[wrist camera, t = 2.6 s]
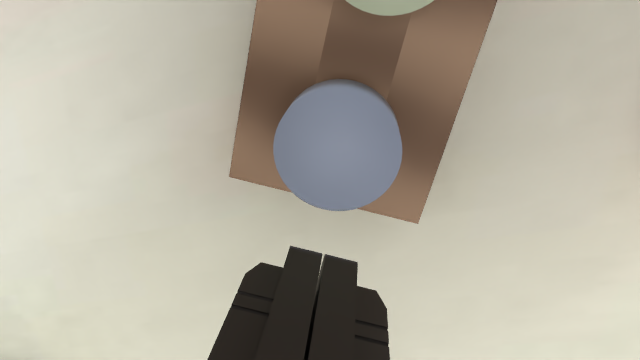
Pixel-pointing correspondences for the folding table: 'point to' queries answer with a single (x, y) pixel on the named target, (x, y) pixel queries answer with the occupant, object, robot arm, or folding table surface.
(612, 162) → the folding table surface
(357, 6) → the sage button
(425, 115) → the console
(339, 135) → the blue button
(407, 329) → the folding table surface
